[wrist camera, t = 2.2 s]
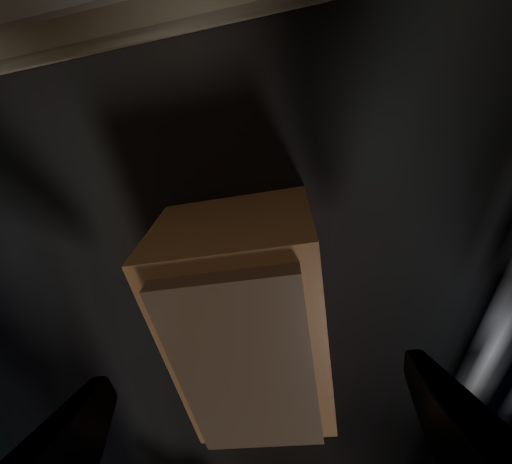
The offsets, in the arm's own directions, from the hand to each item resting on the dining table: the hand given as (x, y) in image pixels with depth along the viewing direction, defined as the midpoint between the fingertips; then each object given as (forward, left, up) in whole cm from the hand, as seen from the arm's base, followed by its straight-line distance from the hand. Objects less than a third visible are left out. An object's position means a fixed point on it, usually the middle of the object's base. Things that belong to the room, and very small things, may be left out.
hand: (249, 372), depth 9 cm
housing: (0, 0, -4) cm, 4 cm away
